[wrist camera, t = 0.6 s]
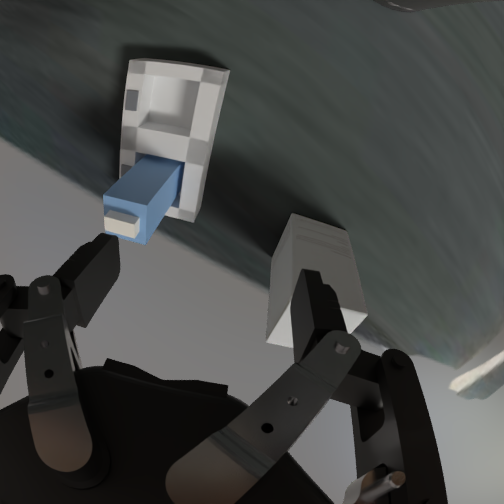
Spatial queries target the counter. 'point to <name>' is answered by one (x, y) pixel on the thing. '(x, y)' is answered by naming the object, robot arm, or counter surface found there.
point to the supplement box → (313, 258)
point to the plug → (142, 198)
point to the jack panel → (173, 122)
